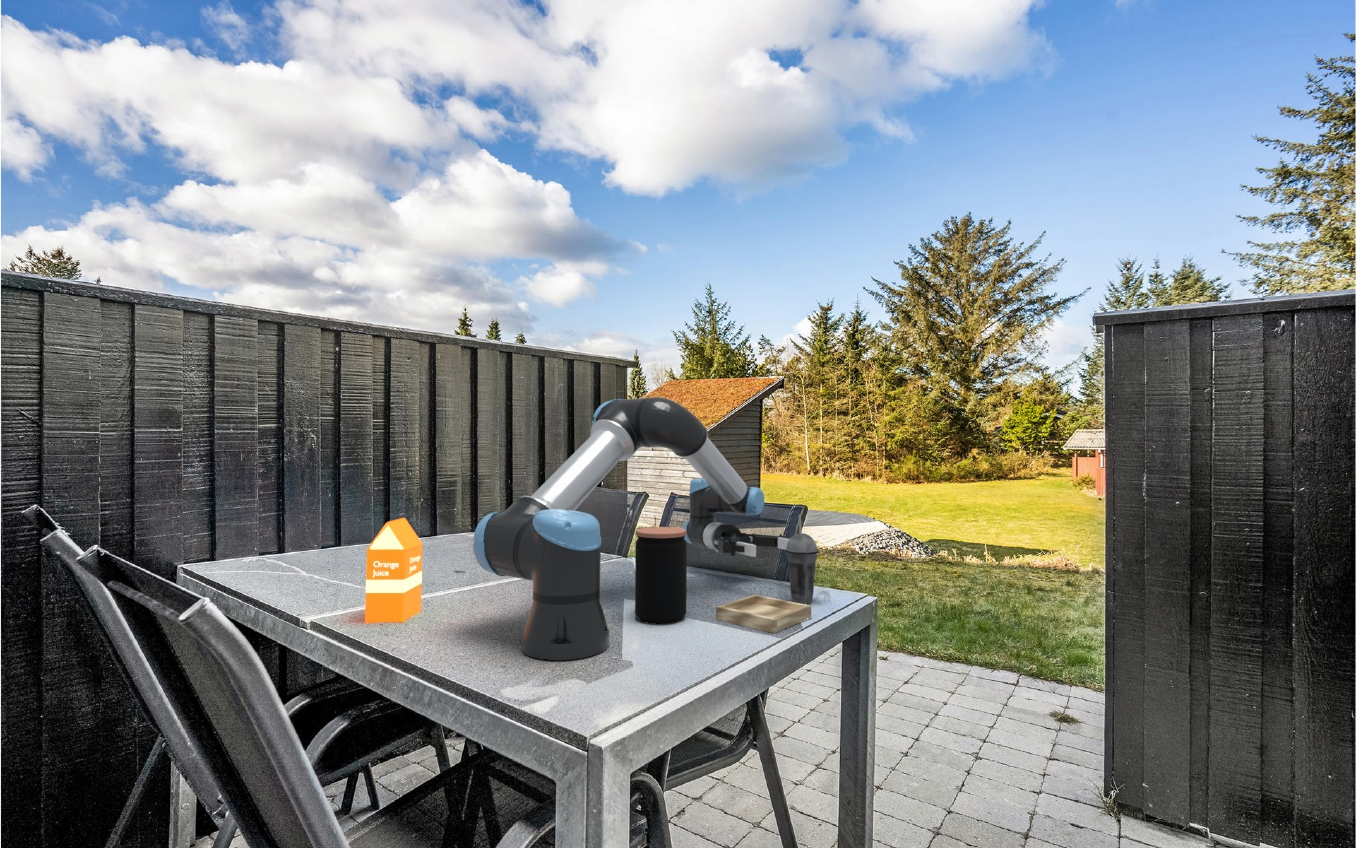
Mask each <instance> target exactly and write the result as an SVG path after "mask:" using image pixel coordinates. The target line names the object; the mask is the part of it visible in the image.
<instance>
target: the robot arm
mask: <svg viewBox="0 0 1356 848" xmlns="http://www.w3.org/2000/svg"><path fill="white" fill-rule="evenodd" d="M590 428H591V429H590V436H589V437H588V438H587V439H586V440H585V442H583V443H582V444H581V445H580V447H578V448H577V450H575V452H574V453H573V454H571V456H569V457H568V459H567V460H565V462H564V463H563V464H562V465H560V467H558V468H557V470H555V472H553V474H552V475H551V476H550V477H548V479H546V481H545V482H544V483H543V484H542V485H540V487H539V488H538V489H536V491H535V492H533V494H532V495H530V496H529V495H522V496H520V497H518V498H517V499H516V500H515V501H514V502H513V503H512V504H511V505H510V506H509V507H508V508H507V509H506V510H505V511H503V512H502V511H494V512H491V513H488V514H487V515H485V516H484V517H483V518H482V519H481V520H480V521H479V523H478V524H477V526H476V528H475V530H474V534H473V543H472V549H473V550H472V551H473V555H474V558H475V560H476V562H477V563H478V565H479V566H480V567H481V569H483V570H484V571H486V572H489V573H491V574H495V575H497V576H499V577H511V578H517V579H522V580H526V581H531V582H532V605H531V607H530V611H529V614H528V616H527V620H526V624H525V627H524V631H523V632H522V636H521V651H522V653H523V654H524V655H526V654H527V655H526V656H528V655H529V656H528V657H530V656H531V658H534V657H535V659H538V658H539V660H544V659H548V660H547V661H569V660H577V659H583V658H585V659H586V658H588V657H592V656H596V655H598V654H600V653H602V652H604V651H605V650H607V649H608V648H609V646H610V630H609V627H608V623H607V621H606V617H605V613H604V610H603V607H602V604H601V597H600V596H601V593H600V592H601V558H602V557H601V555H602V554H601V550H602V548H601V547H602V538H601V529H600V528H601V527H600V526H601V525H600V522H599V521H598V519H597V518H596V517H595V516H594V515H592V514H590V513H587V512H585V511H583V512H582V511H578V510H577V509H578V508H579V507H580V506H581V504H582V503H583V502H584V501H585V500H586V499H587V497H589V495H590V494H591V493H592V491H594V490H595V488H596V487H597V486H598V485H599V484H600V483H601V482H602V481H603V479H604V478H605V477H606V476H608V474H609V473H610V472H611V470H612V469H613V468H614V467H615V466H616V465H617V463H618V462H625V461H628V460H630V459H631V458H632V457H633V455H634V454H635V453H636V452H637V451H638V450H639V449H640V448H656V447H657V448H658V447H659V448H665V449H668V450H671V452H673V454H675V455H676V456H677V457H680V458H685V460H686V461H687V462H688V463H689V464H690V466H691V467H692V468H693V469H694V470H695V471H696V472H697V473H698V474H699V475H700V476H701V478H692V479H691V480H690V483H689V493H688V495H689V519H688V520H687V521H685V523H684V525H683V528H682V529H685V530H686V531H687V532H686V535H685V537H684V539H685V541H686V543H688V544H690V545H692V546H696V547H699V548H706V549H710V550H714V551H715V553H719V552H720V553H721V552H722V553H724V554H730V555H729V556H731V557H734V556H736V554H739V555H744V556H748V557H752V558H756V557H757V547H768V548H770V547H772V548H777V549H780V550H785V551H786V547H787V543H788V541H789V539H790V538H786V536H784V535H783V534H782V533H780V534H779V535H772V534H771V535H770V534H758V533H755V532H754V533H746V532H741V530H740V529H739V527H738V526H736V525H733V524H727V523H722V522H718V521H717V522H716V518H717V515H716V514H718V513H719V514H731V515H741V516H757V515H760V514H761V513H762V511H763V510H764V507H765V495H764V492H763V490H762V489H761V488H759V487H754V486H748V485H747V484H746V483H745V481H744V480H743V478H742V477H741V476H740V475H739V473H738V472H737V471H736V470H735V469H734V468H733V466H732V465H731V464H730V463H729V461H728V460H727V459H726V458H725V457H724V455H723V453H721V452H720V451H719V449H718V448H717V446H715V444H714V443H713V442H712V441H711V439H710V438H709V437H708V436H709V435H708V430H707V428H706V426H705V425H704V424H703V423H702V421H700V419H698V417H697V416H696V415H694V414H693V413H692V412H691V411H689V409H687V408H686V407H684V406H683V405H681V404H679V403H678V402H675V401H674V400H671V399H668V398H666V397H661V396H656V397H654V396H652V397H643V398H641V397H640V398H626V399H625V398H616V399H615V398H614V399H612V400H608V401H605V402H603V403H602V404H601V405H599V406H598V408H597V409H596V410H595V412H594V414H593V420H592V421H591V427H590Z"/></svg>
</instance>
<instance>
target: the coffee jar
mask: <svg viewBox="0 0 1356 848" xmlns="http://www.w3.org/2000/svg"><path fill="white" fill-rule="evenodd" d="M686 532H687V531H686V530H685V529H683V528H681V527H675V526H674V527H673V526H649V527H641V528H638V529H635V535H636V537H637V540H635V550H634V551H635V555H634V556H635V557H634V558H635V573H634V578H635V580H634V582H635V583H634V585H635V586H634V589H635V590H634V592H635V593H634V594H635V595H634V600H635V601H634V614H635V617H637V619H638V620H639V621H640V622H642V623H644V624H650V625H671V624H676V623H680V622H681V621H683V620H684V618H685V616H686V615H687V592H688V591H687V586H688V585H687V582H688V581H687V578H688V577H687V571H688V567H687V566H688V565H687V557H688V555H687V553H688V552H687V546H688V544H687V541H686V540H685V539H684V537H685V535H686Z"/></svg>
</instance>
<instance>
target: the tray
mask: <svg viewBox="0 0 1356 848" xmlns="http://www.w3.org/2000/svg"><path fill="white" fill-rule="evenodd" d="M810 617H811V618H812V605H811V604H808V605H805V604H800V603H795V602H792V601H789V600H784V599H779V598H774V597H768V596H764V595H759V594H753V595H750V596H749V595H748V596H746V597H743V598H739V599H737V600H733V601H731V602H727V603H724V604H721V605H717V606H715V619H716V620H717V621H718V620H719V621H721V622H722V621H723V622H727V623H730V624H735V625H738V626H743V627H745V628H751V629H754V630H759V631H763V632H766V633H770V634H776V633H779V632H781V631H784V630H786V629H789V628H791V627H794V626H796V625H797V624H796V623H798V624H800V622H801V621H803V622H805V621H807V620H806V619H807V618H810ZM811 618H810V619H811ZM804 620H805V621H804ZM801 623H802V622H801ZM795 624H796V625H795ZM790 626H791V627H790ZM785 628H786V629H785ZM780 630H781V631H780Z"/></svg>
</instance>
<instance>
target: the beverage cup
mask: <svg viewBox="0 0 1356 848" xmlns="http://www.w3.org/2000/svg"><path fill="white" fill-rule="evenodd" d="M801 516H802V515H801V514H798V525H799V526H798V529H799V532H798V533H795V534H794V535H792V536H791V537H789V538H788V539H789V541H788V543H787V547H786V550H785V552H786V559H787V562H788V563H787V565H788V574H789V575H788V576H789V577H788V578H789V584H790V585H789V586H790V597H791V602H795V603H800V604H808V605H812V604H813V598H814V588H815V577H816V576H815V575H816V564H817V563H816V562H817V559H818V552H819V551H818V546H817V543H816V541H815V540H814V539H813V537H812V536H810V535H808V533H803V532H802V517H801ZM811 603H812V604H811Z"/></svg>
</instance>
